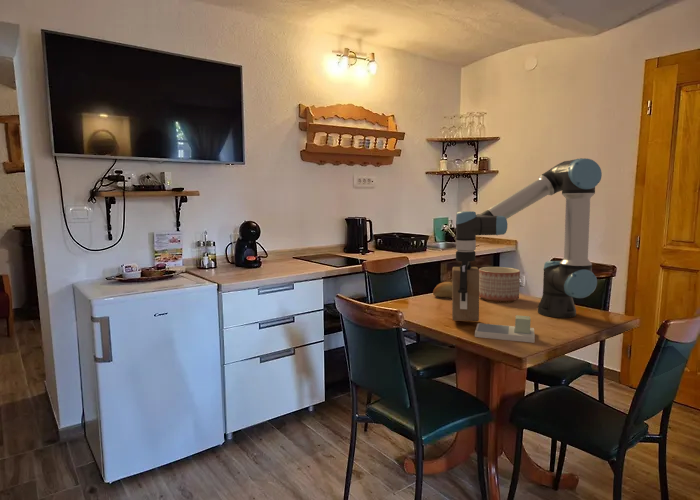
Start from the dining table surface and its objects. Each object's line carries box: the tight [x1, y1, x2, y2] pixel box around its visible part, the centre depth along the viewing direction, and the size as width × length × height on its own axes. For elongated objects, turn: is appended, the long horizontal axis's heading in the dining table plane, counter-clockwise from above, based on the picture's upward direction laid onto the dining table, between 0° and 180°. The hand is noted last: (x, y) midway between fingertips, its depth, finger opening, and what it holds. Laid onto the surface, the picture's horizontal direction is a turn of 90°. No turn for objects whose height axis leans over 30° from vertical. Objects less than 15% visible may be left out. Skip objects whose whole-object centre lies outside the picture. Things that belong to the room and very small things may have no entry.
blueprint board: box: [474, 322, 536, 344], centre depth 169 cm, size 20×12×2 cm, turn 70°
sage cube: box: [514, 314, 532, 334], centre depth 166 cm, size 5×5×5 cm
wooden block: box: [451, 266, 480, 322], centre depth 184 cm, size 10×10×20 cm
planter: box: [478, 266, 521, 303], centre depth 229 cm, size 19×19×15 cm
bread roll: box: [432, 281, 452, 299], centre depth 233 cm, size 10×15×8 cm, turn 76°
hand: (465, 305), depth 185 cm, fingers closed on wooden block, 10 cm apart
